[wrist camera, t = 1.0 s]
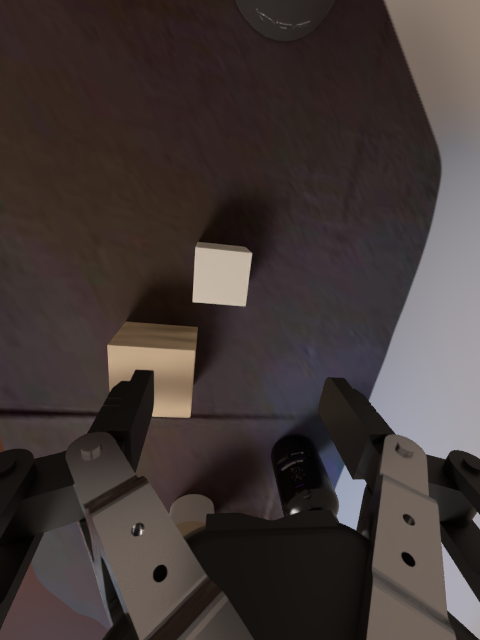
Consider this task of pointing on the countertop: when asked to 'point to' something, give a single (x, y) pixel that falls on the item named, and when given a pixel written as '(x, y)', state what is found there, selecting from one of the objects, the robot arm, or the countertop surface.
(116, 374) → the oak block
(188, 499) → the coffee cup
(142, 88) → the countertop surface
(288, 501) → the supplement bottle
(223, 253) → the cream cube
